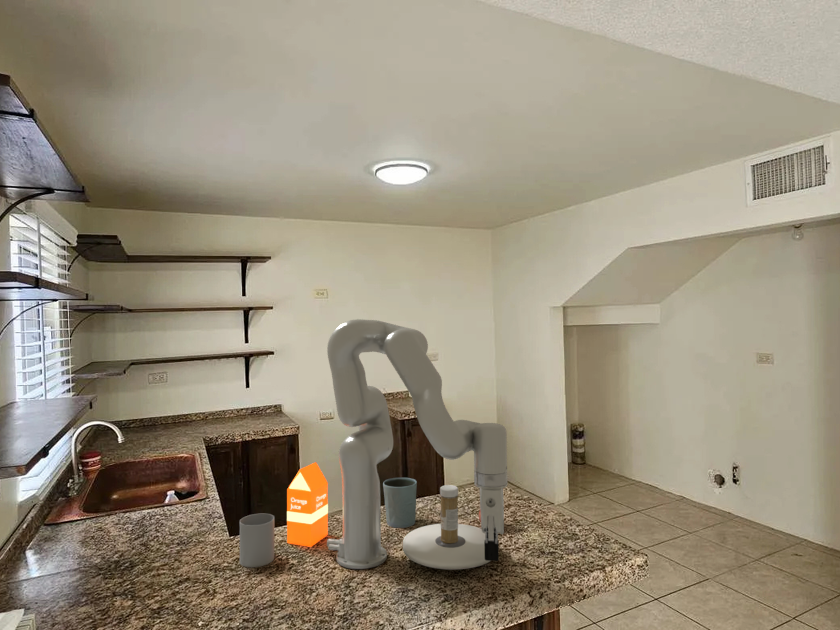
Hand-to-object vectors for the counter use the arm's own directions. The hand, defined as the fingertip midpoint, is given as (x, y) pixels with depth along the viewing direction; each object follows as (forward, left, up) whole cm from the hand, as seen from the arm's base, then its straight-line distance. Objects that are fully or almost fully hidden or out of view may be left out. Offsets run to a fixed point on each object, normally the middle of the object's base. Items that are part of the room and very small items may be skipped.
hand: (491, 559), depth 117 cm
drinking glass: (-28, +32, -5) cm, 42 cm away
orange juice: (-51, +17, -5) cm, 54 cm away
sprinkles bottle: (-11, +11, -1) cm, 15 cm away
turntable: (-11, +11, -5) cm, 16 cm away
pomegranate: (-1, +32, -5) cm, 32 cm away
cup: (-59, +3, -5) cm, 59 cm away
